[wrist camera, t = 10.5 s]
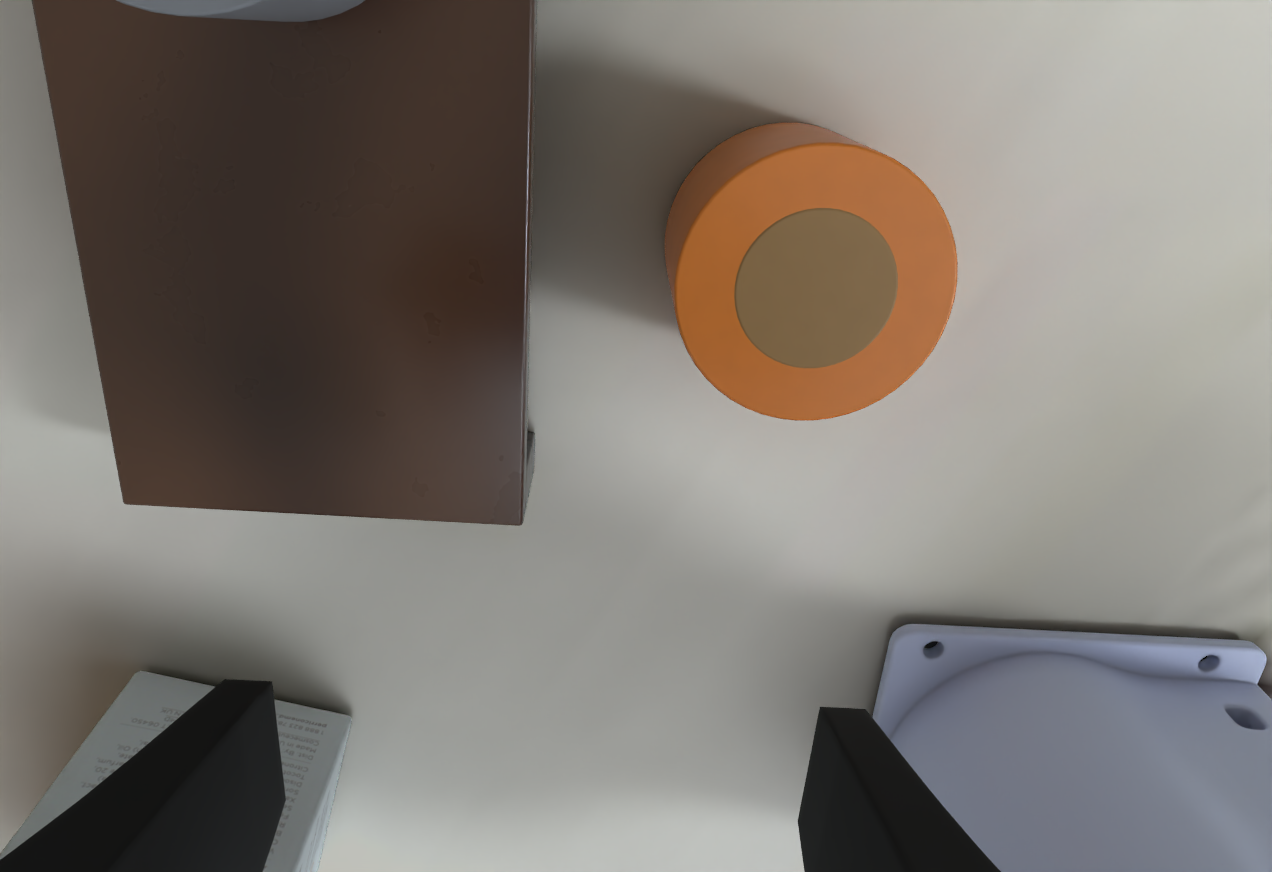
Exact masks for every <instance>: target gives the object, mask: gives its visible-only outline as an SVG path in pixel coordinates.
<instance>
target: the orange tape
mask: <svg viewBox="0 0 1272 872" xmlns="http://www.w3.org/2000/svg"><path fill="white" fill-rule="evenodd" d="M665 260H666V268H667V273H668V279H669V284H670V289H671V294H672V299H673V304H674V310H675V315H676V319H677V323H678V327H679V331H680V335H681V337H682V339H683V342H684V344H685V347H686V349H687V351H688V353H689V355H690V356H691V358H692V360H693V362H694V363H695V365H696V366H697V368H698V369H699V370H700V371H701V373H702V374H703V375H704V377H705V378H706V379H707V380H708V381H709V382H710V383H711V384H712V385H713V386H714V387H715V388H716V389H717V390H719V391H720V392H721V393H723V394H724V395H725V396H727V397H728V398H729V399H731V400H733V401H734V402H736V403H738V404H740V405H742V406H743V407H745V408H747V409H750V410H753V411H755V412H758V413H760V414H763V415H767V416H771V417H775V418H780V419H789V420H820V419H828V418H833V417H837V416H841V415H846V414H849V413H852V412H854V411H857V410H860V409H862V408H865V407H867V406H869V405H871V404H873V403H875V402H877V401H879V400H881V399H882V398H884V397H885V396H887V395H888V394H890V393H891V392H893V391H894V390H896V389H897V388H898V387H899V386H900V385H902V384H903V383H904V382H905V381H906V380H908V379H909V378H910V377H911V376H912V375H913V374H914V373H915V372H916V370H917V369H918V368H919V367H920V366H921V365H922V364H923V363H924V361H925V360H926V359H927V357H928V356H929V355H930V353H931V352H932V351H933V349H934V347H935V346H936V344H937V342H938V340H939V339H940V337H941V335H942V333H943V331H944V328H945V326H946V324H947V321H948V319H949V316H950V313H951V309H952V306H953V302H954V299H955V292H956V285H957V254H956V246H955V241H954V238H953V234H952V230H951V227H950V224H949V222H948V220H947V217H946V215H945V212H944V210H943V209H942V207H941V205H940V204H939V202H938V200H937V199H936V197H935V195H934V194H933V193H932V192H931V190H930V189H929V188H928V187H927V186H926V184H925V183H924V182H923V181H922V180H921V179H920V178H919V177H918V176H916V175H915V174H914V173H913V172H912V171H911V170H910V169H909V168H907V167H906V166H904V165H902V164H901V163H899V162H898V161H896V160H895V159H893V158H891V157H889V156H887V155H885V154H883V153H880V152H878V151H876V150H874V149H871V148H869V147H867V146H865V145H862V144H860V143H858V142H855V141H853V140H851V139H849V138H846V137H844V136H842V135H839V134H837V133H835V132H832V131H830V130H828V129H825V128H821V127H818V126H815V125H810V124H803V123H774V124H766V125H762V126H758V127H755V128H751V129H748V130H746V131H743V132H741V133H739V134H736V135H734V136H732V137H731V138H729V139H727V140H725V141H724V142H722V143H720V144H719V145H718V146H716V147H715V148H714V149H713V150H711V151H710V152H709V153H707V154H706V155H705V156H704V157H703V158H702V159H701V160H700V161H699V162H698V163H697V164H696V165H695V167H694V168H693V169H692V171H691V172H690V173H689V174H688V176H687V177H686V178H685V180H684V182H683V184H682V185H681V187H680V189H679V190H678V192H677V195H676V197H675V199H674V202H673V204H672V206H671V210H670V213H669V217H668V220H667V226H666V232H665Z"/></svg>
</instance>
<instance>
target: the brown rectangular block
mask: <svg viewBox="0 0 1272 872" xmlns="http://www.w3.org/2000/svg"><path fill="white" fill-rule="evenodd" d="M32 4H33V9H34V15H35V20H36V26H37V31H38V37H39V42H40V48H41V53H42V59H43V64H44V70H45V75H46V81H47V86H48V92H49V97H50V103H51V108H52V114H53V119H54V124H55V130H56V135H57V141H58V146H59V152H60V157H61V163H62V168H63V174H64V179H65V185H66V190H67V196H68V201H69V207H70V212H71V218H72V223H73V229H74V234H75V240H76V245H77V251H78V256H79V262H80V267H81V272H82V278H83V283H84V289H85V294H86V300H87V305H88V311H89V316H90V322H91V327H92V333H93V338H94V344H95V349H96V355H97V360H98V366H99V371H100V377H101V382H102V388H103V393H104V399H105V404H106V410H107V415H108V420H109V426H110V431H111V437H112V442H113V448H114V453H115V459H116V464H117V470H118V475H119V481H120V486H121V492H122V497H123V502H124V504H130V505H148V506H167V507H185V508H204V509H222V510H241V511H259V512H278V513H296V514H314V515H333V516H351V517H370V518H388V519H407V520H425V521H444V522H462V523H481V524H499V525H518V526H519V525H522V523H523V520H524V516H525V510H526V507H527V502H528V497H529V492H530V487H531V482H532V477H533V473H534V452H535V433H534V432H527V416H528V373H529V329H530V285H531V242H532V198H533V155H534V111H535V68H536V24H537V0H365V1H363V2H362V3H361V4H359V5H358V6H355V7H353V8H351V9H349V10H347V11H345V12H343V13H341V14H337V15H334V16H331V17H327V18H324V19H319V20H312V21H305V22H280V21H261V20H242V19H223V18H204V17H186V16H175V15H168V14H161V13H154V12H150V11H147V10H143V9H139V8H136V7H132V6H129V5H126V4H123V3H121V2H119V1H116V0H32Z"/></svg>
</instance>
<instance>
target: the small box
mask: <svg viewBox="0 0 1272 872" xmlns="http://www.w3.org/2000/svg"><path fill="white" fill-rule="evenodd" d="M214 688H215V686H210V685H206V684H201V683H197V682H192V681H187V680H183V679H178V678H173V677H169V676H164V675H159V674H155V673H150V672H145V671H138V672H136V673H135V674H134V675H133V677H132V678H131V679H130V681H129V682H128V684H127V685H126V686H125V688H124V689H123V690H122V691H121V693H120V694H119V696H118V697H117V698H116V699H115V701H114V702H113V703H112V705H111V706H110V707H109V709H108V710H107V711H106V713H105V714H104V715H103V717H102V718H101V719H100V721H99V722H98V723H97V725H96V726H95V727H94V729H93V730H92V731H91V733H90V734H89V735H88V737H87V738H86V740H85V741H84V742H83V744H82V745H81V746H80V748H79V749H78V750H77V752H76V753H75V754H74V755H73V757H72V758H71V759H70V761H69V762H68V763H67V765H66V766H65V767H64V769H63V770H62V771H61V773H60V774H59V775H58V777H57V778H56V780H55V781H54V782H53V784H52V785H51V786H50V788H49V789H48V790H47V792H46V793H45V795H44V796H43V797H42V799H41V800H40V801H39V803H38V804H37V805H36V807H35V808H34V809H33V811H32V812H31V813H30V815H29V816H28V817H27V819H26V820H25V822H24V823H23V824H22V826H21V827H20V828H19V830H18V831H17V832H16V833H15V835H14V836H13V837H12V839H11V840H10V841H9V843H8V844H7V845H6V847H5V848H4V849H3V851H2V852H1V853H0V859H2V858H3V857H5V856H6V855H7V854H9V853H10V852H11V851H13V850H14V849H15V848H17V847H18V846H19V845H21V844H22V843H23V842H25V841H26V840H27V839H29V838H30V837H31V836H33V835H34V834H35V833H37V832H38V831H39V830H40V829H42V828H43V827H44V826H46V825H47V824H48V823H50V822H51V821H52V820H54V819H55V818H56V817H58V816H59V815H60V814H62V813H63V812H64V811H66V810H67V809H68V808H70V807H71V806H72V805H73V804H75V803H76V802H77V801H79V800H80V799H81V798H82V797H84V796H85V795H86V794H87V793H89V792H90V791H91V790H92V789H94V788H95V787H96V786H97V785H98V784H100V783H101V782H102V781H103V780H105V779H106V778H107V777H108V776H109V775H111V774H112V773H113V772H114V771H116V770H117V769H118V768H119V767H121V766H122V765H123V764H124V763H125V762H127V761H128V760H129V759H130V758H132V757H133V756H134V755H135V754H136V753H138V752H139V751H140V750H141V749H142V748H143V747H145V746H146V745H147V744H148V743H149V742H151V741H152V740H153V739H154V738H155V737H157V736H158V735H159V734H160V733H161V732H162V731H164V730H165V729H166V728H167V727H168V726H169V725H171V724H172V723H173V722H174V721H175V720H177V719H178V718H179V717H180V716H181V715H182V714H184V713H185V712H186V711H187V710H188V709H190V708H191V707H192V706H193V705H194V704H195V703H197V702H198V701H199V700H200V699H201V698H203V697H204V696H205V695H206V694H208V693H209V692H210V691H211V690H212V689H214ZM274 702H275V711H276V719H277V728H278V736H279V745H280V753H281V762H282V771H283V779H284V788H285V796H286V801H285V805H284V808H283V811H282V814H281V817H280V821H279V824H278V827H277V830H276V833H275V836H274V840H273V843H272V846H271V849H270V852H269V855H268V857H267V860H266V863H265V866H264V869H263V872H317V871H318V867H319V863H320V858H321V854H322V849H323V845H324V840H325V836H326V831H327V827H328V822H329V818H330V813H331V809H332V805H333V800H334V796H335V791H336V787H337V782H338V777H339V773H340V769H341V764H342V760H343V756H344V751H345V747H346V743H347V739H348V735H349V731H350V727H351V723H352V721H351V717H350V716H348V715H344V714H340V713H335V712H331V711H326V710H321V709H316V708H311V707H307V706H303V705H298V704H293V703H289V702H284V701H280V700H275V699H274Z"/></svg>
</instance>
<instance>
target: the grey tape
mask: <svg viewBox="0 0 1272 872" xmlns="http://www.w3.org/2000/svg"><path fill="white" fill-rule="evenodd" d="M116 1H119V2H121V3H123V4H126V5H129V6H132V7H136V8H139V9H143V10H147V11H150V12H154V13H161V14H168V15H175V16H186V17H204V18H223V19H242V20H261V21H280V22H305V21H312V20H319V19H324V18H327V17H331V16H334V15H337V14H341V13H343V12H345V11H347V10H349V9H351V8H353V7H355V6H358V5H359V4H361V3H362V2H363V1H365V0H116Z"/></svg>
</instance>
